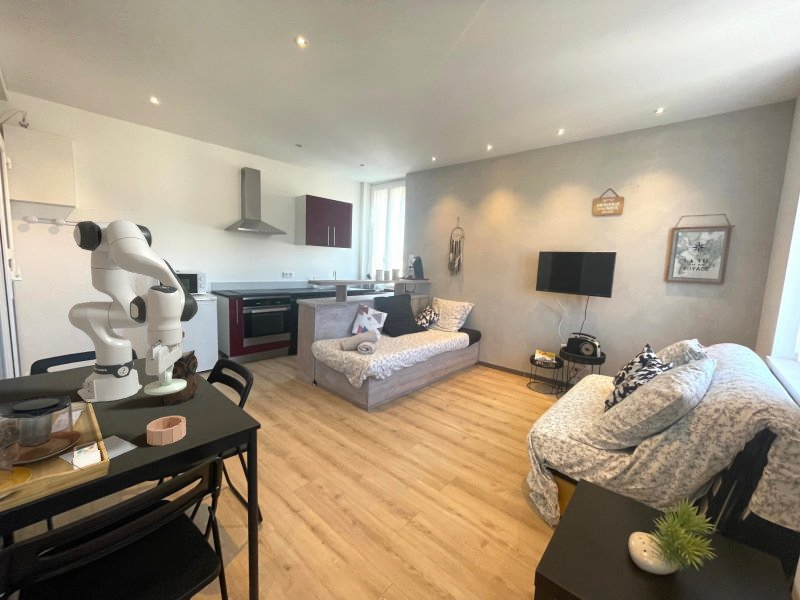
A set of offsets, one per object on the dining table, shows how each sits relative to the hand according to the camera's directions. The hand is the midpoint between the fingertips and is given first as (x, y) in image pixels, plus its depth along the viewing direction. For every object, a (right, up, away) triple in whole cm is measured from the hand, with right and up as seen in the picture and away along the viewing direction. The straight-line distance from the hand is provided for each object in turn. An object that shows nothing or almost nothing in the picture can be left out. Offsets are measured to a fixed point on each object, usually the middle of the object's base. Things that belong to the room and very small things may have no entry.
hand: (165, 379), depth 102 cm
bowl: (-1, -20, +2) cm, 20 cm away
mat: (-14, -20, -7) cm, 25 cm away
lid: (0, -3, 0) cm, 3 cm away
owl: (-17, -16, +31) cm, 39 cm away
